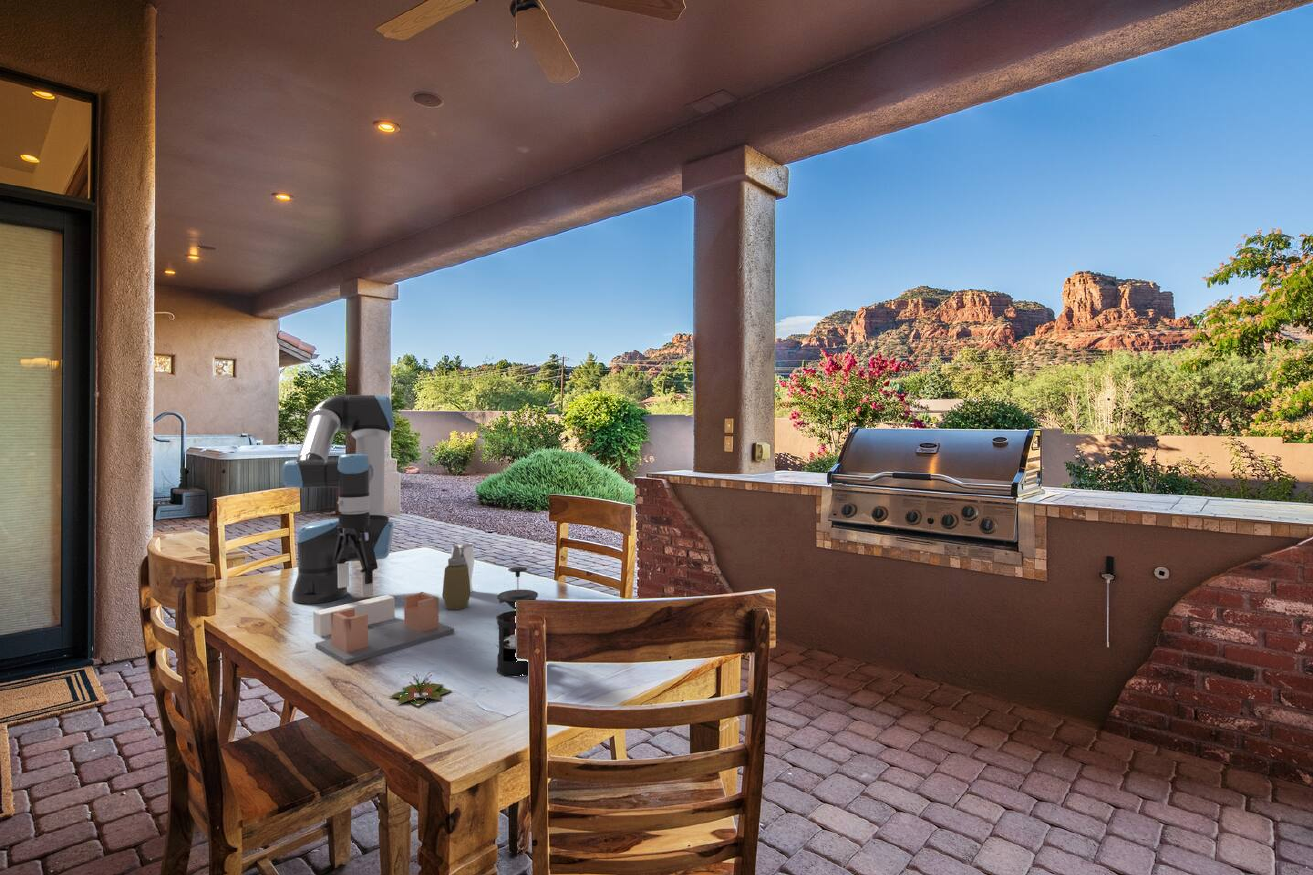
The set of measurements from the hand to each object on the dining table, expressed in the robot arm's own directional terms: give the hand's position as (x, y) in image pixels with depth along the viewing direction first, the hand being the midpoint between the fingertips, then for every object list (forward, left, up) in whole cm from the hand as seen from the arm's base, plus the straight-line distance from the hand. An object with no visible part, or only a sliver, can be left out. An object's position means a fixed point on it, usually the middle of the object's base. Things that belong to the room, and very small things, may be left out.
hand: (355, 591), depth 175 cm
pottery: (+38, +25, -10) cm, 46 cm away
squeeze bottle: (+6, +27, -10) cm, 29 cm away
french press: (+56, +11, -10) cm, 58 cm away
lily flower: (+52, -11, -10) cm, 54 cm away
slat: (0, 0, -10) cm, 10 cm away
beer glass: (-6, +37, -10) cm, 39 cm away
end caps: (+17, 0, -9) cm, 19 cm away
